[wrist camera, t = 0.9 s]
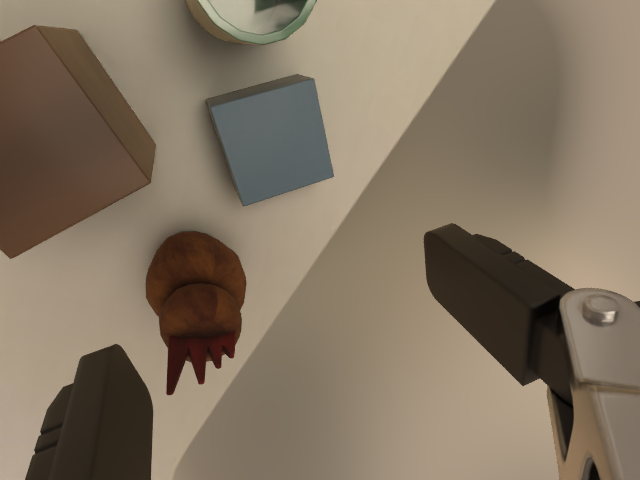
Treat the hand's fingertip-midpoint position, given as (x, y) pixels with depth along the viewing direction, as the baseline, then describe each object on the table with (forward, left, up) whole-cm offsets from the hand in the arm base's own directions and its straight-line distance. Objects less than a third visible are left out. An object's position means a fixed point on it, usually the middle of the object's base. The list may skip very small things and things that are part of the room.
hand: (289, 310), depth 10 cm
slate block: (+1, +4, -23) cm, 23 cm away
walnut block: (-3, -9, -23) cm, 24 cm away
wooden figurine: (+9, -5, -23) cm, 25 cm away
